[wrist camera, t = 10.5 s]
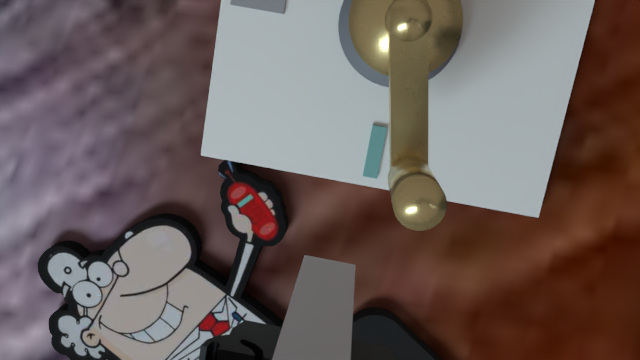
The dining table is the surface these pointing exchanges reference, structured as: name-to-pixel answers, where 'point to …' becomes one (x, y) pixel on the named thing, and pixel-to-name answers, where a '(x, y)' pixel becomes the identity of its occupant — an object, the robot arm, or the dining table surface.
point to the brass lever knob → (408, 91)
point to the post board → (373, 97)
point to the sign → (182, 285)
